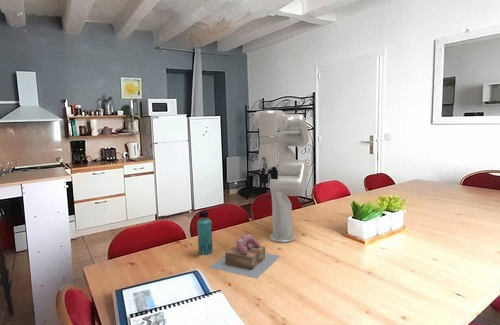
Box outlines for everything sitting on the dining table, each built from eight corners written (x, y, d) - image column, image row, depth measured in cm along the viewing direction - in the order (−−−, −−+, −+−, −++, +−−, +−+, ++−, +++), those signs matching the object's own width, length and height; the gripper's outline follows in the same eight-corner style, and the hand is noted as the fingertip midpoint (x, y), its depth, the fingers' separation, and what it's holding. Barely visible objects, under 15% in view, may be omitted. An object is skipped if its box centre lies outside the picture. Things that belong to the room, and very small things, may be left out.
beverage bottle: (199, 259, 140) (196, 214, 138) (197, 253, 147) (195, 210, 144) (214, 257, 142) (212, 212, 140) (211, 251, 148) (209, 209, 146)
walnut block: (240, 253, 141) (240, 242, 141) (265, 258, 136) (264, 246, 135) (225, 264, 131) (225, 252, 130) (251, 270, 125) (251, 257, 125)
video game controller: (253, 249, 137) (247, 233, 138) (261, 246, 134) (255, 230, 135) (239, 257, 129) (232, 240, 130) (246, 254, 126) (240, 237, 127)
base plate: (236, 250, 148) (236, 247, 148) (281, 259, 138) (281, 255, 138) (208, 270, 129) (208, 267, 129) (257, 282, 119) (257, 278, 118)
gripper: (269, 139, 144) (270, 177, 146) (250, 141, 129) (252, 184, 131) (284, 139, 140) (285, 178, 143) (267, 142, 125) (268, 185, 128)
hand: (269, 181), depth 137 cm, fingers open, 9 cm apart
